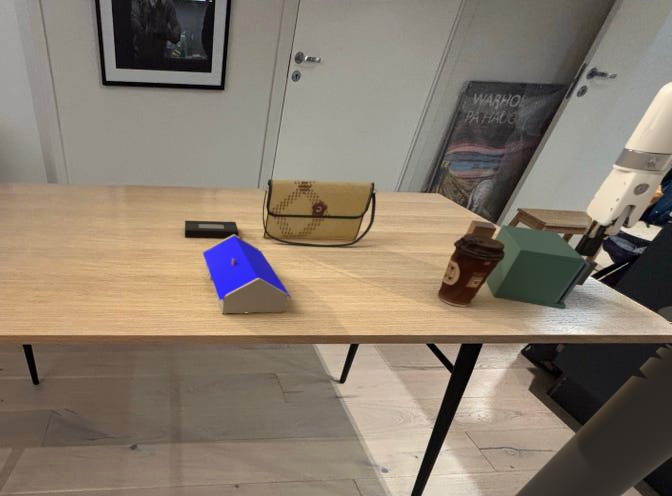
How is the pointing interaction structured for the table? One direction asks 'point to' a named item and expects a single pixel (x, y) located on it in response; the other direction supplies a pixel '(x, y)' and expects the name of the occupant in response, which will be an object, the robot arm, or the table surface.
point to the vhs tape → (210, 229)
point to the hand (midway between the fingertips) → (582, 254)
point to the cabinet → (534, 266)
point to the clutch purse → (317, 210)
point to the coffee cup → (469, 268)
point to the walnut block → (481, 228)
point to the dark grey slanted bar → (579, 277)
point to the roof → (244, 278)
